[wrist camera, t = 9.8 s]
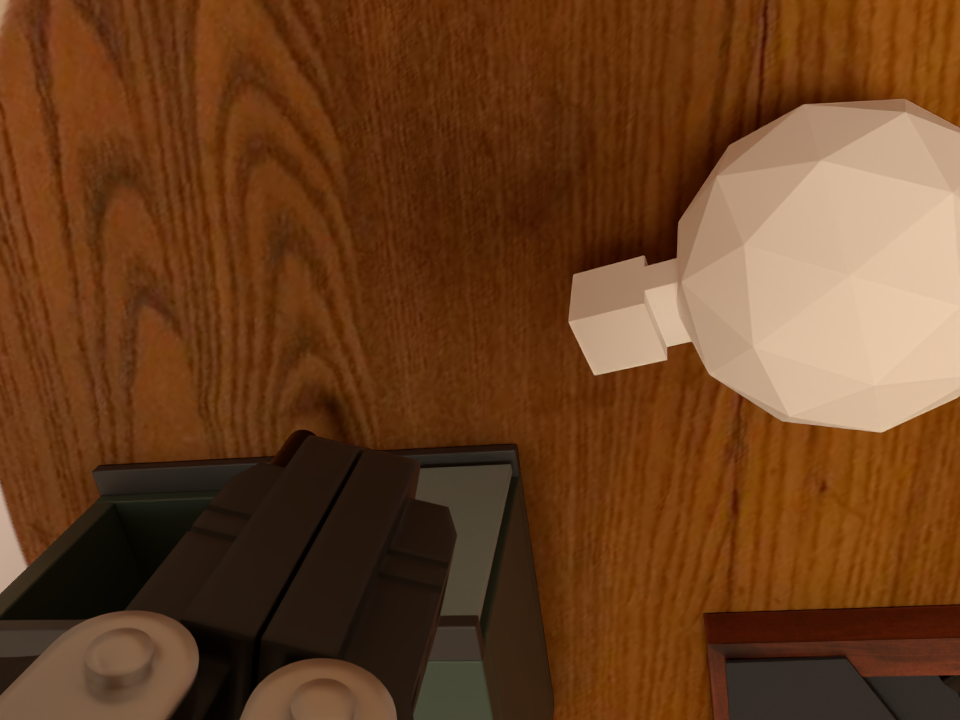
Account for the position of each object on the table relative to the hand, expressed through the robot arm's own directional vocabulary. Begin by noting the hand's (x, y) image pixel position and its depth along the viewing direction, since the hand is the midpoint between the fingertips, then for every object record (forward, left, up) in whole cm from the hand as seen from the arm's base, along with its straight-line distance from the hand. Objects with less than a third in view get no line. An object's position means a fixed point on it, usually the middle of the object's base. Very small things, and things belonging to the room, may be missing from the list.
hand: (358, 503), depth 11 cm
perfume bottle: (+6, +6, -18) cm, 20 cm away
